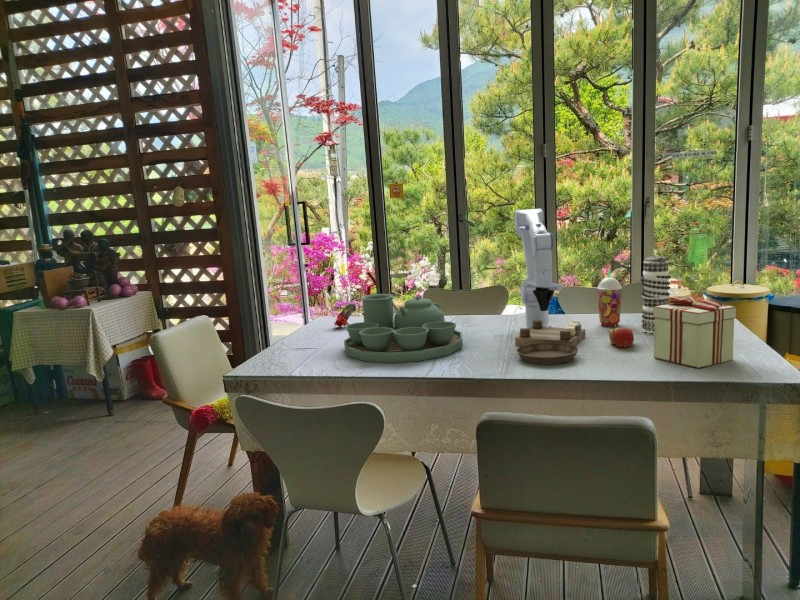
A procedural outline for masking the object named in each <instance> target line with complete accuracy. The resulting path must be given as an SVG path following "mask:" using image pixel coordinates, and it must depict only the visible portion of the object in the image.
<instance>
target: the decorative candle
mask: <svg viewBox="0 0 800 600" xmlns="http://www.w3.org/2000/svg"><path fill="white" fill-rule="evenodd" d="M669 262H670V260H668V259H667V258H666V257H665V256H656V255H655V256H647V257H646V258H645V259H644V261H643V271H642V276H641V277H640V280H641V282H640V284H641V285H642V287H641V290H642V291H641V297H642V298H643V304H642V310H641V314H642V315H641V318H642V319H641V328H642V329H641V332H642V331H644V332H647V333H646V334H648V333H654V321H655V318H653V307H655V306H661V305H667V304H669V301H668V300H667V299H668V298H671V297H670V294H671V293H670V292H669V290H671V287H670V286H669V285H671V282H670V281H668V280H670V279H671V278H672V276H671V275H670V270H669ZM644 332H643V333H644Z"/></svg>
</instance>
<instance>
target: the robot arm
mask: <svg viewBox="0 0 800 600" xmlns="http://www.w3.org/2000/svg"><path fill="white" fill-rule="evenodd" d="M513 217H514V218H513V219H514V220H513V221H514V229H515V233H516V235H517V236H519V237H520V238H521V241H522V246H523V254H524V262H525V263H524V264H525V270H526V271H525V272H526V278H525V279H524V280H523V281H522V282H521V284H520V301H521V303H522V304H523V305H524V306H525V327H523V328H531V327H532V326H533V320H542V327H552V324H550V322H549V319H550V317H549V315H550V314H549V307H550V302H551V299H552V297H553V294H554V293H555V291H556V292H562V291H564V289H563V288H564V287H563V284H562V283H561V284H560V283H555V282H553V259H552V258H553V257H552V256H553V252H552V251H553V250H554V246H555V244H554V243H555V241H554V235H553V232H548V229H546V226H545V225H544V224H543V223H544V217H545V216H544V210H543V209H542V208H533V209H532V208H531V209H515V211H514V216H513Z"/></svg>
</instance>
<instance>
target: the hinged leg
mask: <svg viewBox="0 0 800 600" xmlns="http://www.w3.org/2000/svg"><path fill="white" fill-rule="evenodd" d="M577 324H581V322H580V321H577V320H576V321H571V323H569V324H568V325H567V326H566V327H564V328H565V330H569V331H570V332H571V336H574V335H575V334H576V325H577Z"/></svg>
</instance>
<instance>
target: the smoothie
mask: <svg viewBox="0 0 800 600" xmlns="http://www.w3.org/2000/svg"><path fill="white" fill-rule="evenodd" d="M607 273H608V274H607V277H604V278H602V279H601V281H599V283H598V285H597V287H596V290H597V302H598V315H599V316H598V317H599V323H600V325H601V326H602V325H604V326H603V327H606V326H614V327H616V326H615V325H617V326H618V325H619V323H620V322H621V321H620V320H621V309H622V308H621V307H622V305H621V304H622V291H623V287H622V286H621V283H620V281H619V280H617V278H614V277H612V276H611V269H608V272H607Z"/></svg>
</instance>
